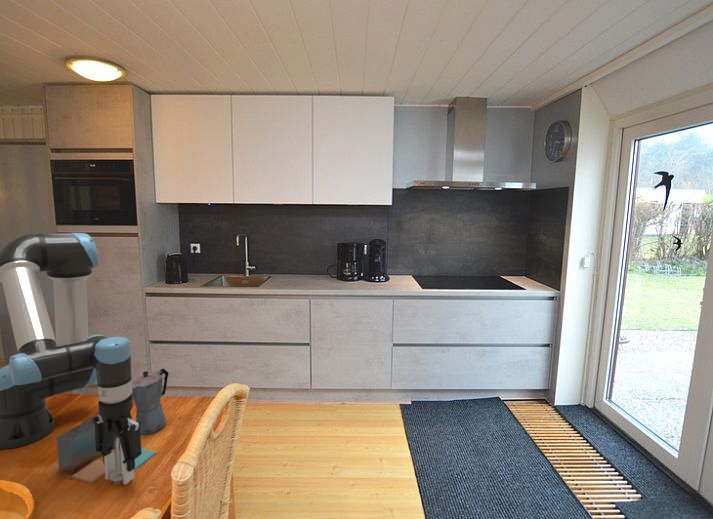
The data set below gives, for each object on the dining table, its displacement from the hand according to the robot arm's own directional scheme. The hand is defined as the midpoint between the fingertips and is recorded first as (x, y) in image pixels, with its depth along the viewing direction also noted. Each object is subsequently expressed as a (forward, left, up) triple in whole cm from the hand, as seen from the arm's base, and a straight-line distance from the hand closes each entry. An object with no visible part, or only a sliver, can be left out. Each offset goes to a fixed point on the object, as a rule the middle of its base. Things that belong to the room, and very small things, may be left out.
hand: (119, 478), depth 99 cm
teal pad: (-3, +8, -1) cm, 9 cm away
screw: (0, 0, -1) cm, 1 cm away
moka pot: (-12, +23, -1) cm, 26 cm away
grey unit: (-16, +5, -1) cm, 17 cm away
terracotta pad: (-9, 0, -1) cm, 10 cm away
